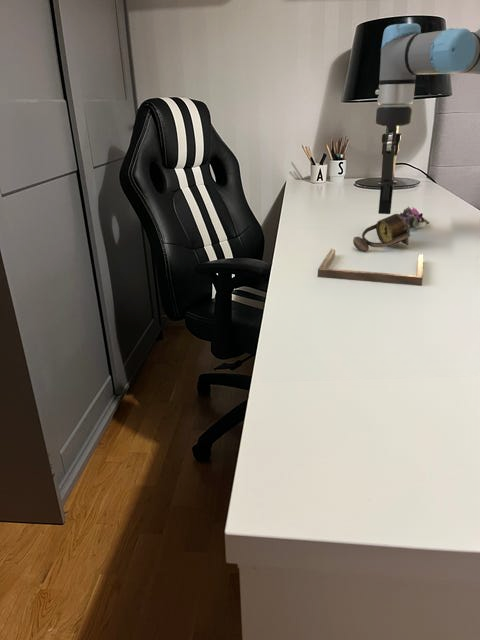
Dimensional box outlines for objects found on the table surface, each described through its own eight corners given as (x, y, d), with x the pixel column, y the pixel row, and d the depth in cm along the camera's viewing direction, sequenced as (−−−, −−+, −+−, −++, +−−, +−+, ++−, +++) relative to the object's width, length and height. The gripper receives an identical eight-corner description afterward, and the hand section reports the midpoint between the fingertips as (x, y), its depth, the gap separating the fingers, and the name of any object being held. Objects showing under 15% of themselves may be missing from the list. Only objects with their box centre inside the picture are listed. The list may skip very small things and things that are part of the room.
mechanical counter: (421, 228, 106) (408, 208, 114) (361, 224, 106) (353, 204, 114) (411, 258, 111) (400, 236, 119) (354, 254, 110) (347, 233, 118)
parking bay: (422, 261, 103) (423, 254, 102) (421, 285, 91) (422, 277, 90) (330, 255, 109) (330, 248, 108) (317, 276, 96) (317, 269, 96)
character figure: (391, 218, 140) (392, 230, 126) (392, 204, 139) (394, 214, 124) (426, 219, 138) (432, 231, 124) (428, 205, 137) (434, 216, 122)
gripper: (379, 105, 116) (371, 206, 126) (373, 107, 105) (365, 218, 115) (413, 104, 114) (402, 208, 124) (411, 106, 103) (399, 220, 113)
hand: (384, 213), depth 119 cm, fingers closed
